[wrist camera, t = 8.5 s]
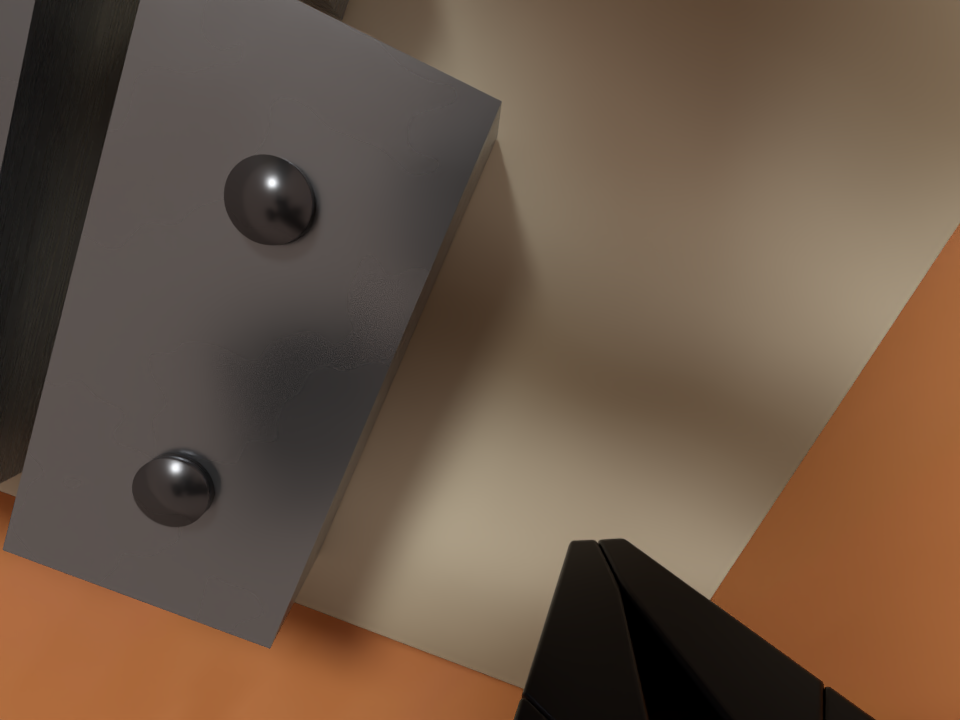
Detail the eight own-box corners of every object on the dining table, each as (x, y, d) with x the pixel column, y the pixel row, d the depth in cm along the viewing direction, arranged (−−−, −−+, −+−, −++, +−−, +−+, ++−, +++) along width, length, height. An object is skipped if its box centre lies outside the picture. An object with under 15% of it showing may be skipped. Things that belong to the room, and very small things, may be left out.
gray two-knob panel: (575, -45, 8) (617, -174, 5) (317, 557, 11) (264, 658, 8) (311, -186, 8) (223, -396, 5) (112, 477, 10) (-10, 557, 8)
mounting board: (-210, -706, 7) (-277, -795, 6) (1061, 22, 9) (1102, 7, 8) (-290, 356, 10) (-337, 363, 10) (618, 703, 12) (625, 727, 12)
